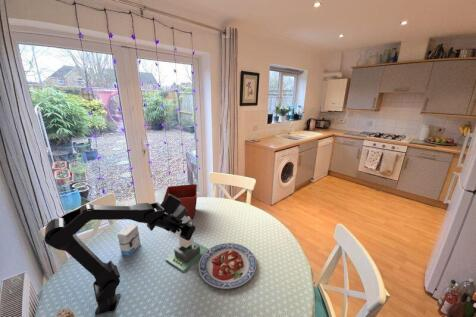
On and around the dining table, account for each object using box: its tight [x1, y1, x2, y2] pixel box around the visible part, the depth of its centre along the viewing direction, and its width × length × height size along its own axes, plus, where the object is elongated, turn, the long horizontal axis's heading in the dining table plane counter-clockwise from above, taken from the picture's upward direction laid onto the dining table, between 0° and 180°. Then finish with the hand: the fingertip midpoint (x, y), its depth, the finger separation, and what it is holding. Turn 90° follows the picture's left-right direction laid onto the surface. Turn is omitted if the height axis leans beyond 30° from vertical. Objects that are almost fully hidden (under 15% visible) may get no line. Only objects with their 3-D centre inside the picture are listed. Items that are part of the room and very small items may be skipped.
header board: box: [165, 240, 209, 273], centre depth 98 cm, size 16×12×4 cm
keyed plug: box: [177, 216, 194, 248], centre depth 95 cm, size 5×4×13 cm
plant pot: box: [162, 183, 198, 220], centre depth 130 cm, size 19×19×17 cm
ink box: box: [117, 223, 141, 256], centre depth 101 cm, size 8×5×12 cm, turn 168°
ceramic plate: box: [198, 242, 257, 290], centre depth 92 cm, size 26×26×3 cm
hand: (187, 230), depth 96 cm, fingers closed on keyed plug, 4 cm apart
